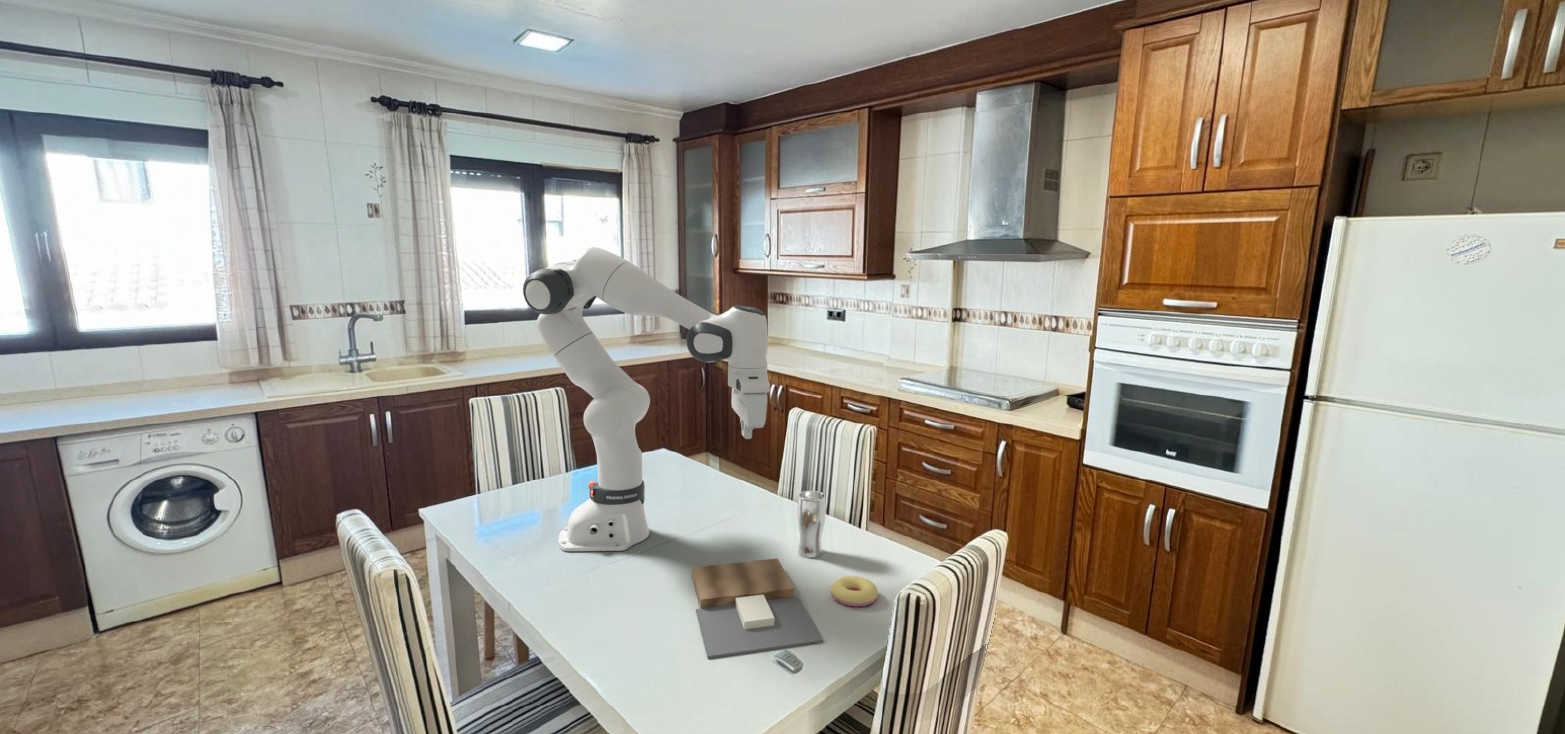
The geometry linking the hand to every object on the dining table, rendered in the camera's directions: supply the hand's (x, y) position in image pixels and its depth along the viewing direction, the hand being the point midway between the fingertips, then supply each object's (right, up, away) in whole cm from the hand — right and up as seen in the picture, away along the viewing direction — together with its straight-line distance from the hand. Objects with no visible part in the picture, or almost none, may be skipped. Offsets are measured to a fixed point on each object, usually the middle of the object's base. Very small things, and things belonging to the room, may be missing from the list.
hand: (746, 437), depth 145 cm
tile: (+3, -34, -17) cm, 38 cm away
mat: (+3, -35, -20) cm, 41 cm away
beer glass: (+15, -30, +12) cm, 36 cm away
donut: (+24, -34, -8) cm, 42 cm away
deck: (-1, -33, -6) cm, 33 cm away
